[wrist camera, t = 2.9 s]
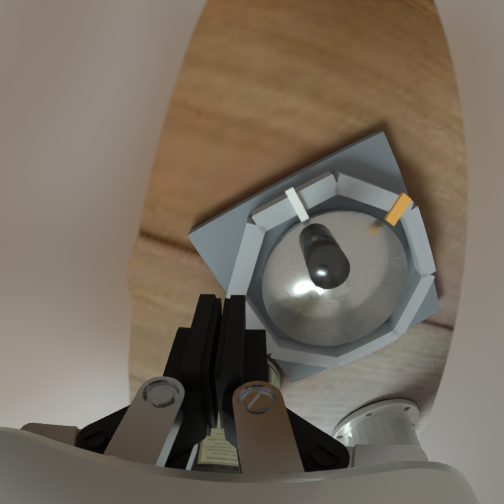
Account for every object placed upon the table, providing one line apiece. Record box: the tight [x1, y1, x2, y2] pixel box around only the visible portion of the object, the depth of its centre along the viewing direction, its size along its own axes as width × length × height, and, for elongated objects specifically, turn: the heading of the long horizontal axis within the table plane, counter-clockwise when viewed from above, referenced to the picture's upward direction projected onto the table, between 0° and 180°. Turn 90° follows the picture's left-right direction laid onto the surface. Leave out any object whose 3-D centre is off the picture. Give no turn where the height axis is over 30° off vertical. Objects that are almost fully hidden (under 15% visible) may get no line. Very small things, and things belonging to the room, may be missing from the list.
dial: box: [262, 208, 408, 346], centre depth 21 cm, size 12×12×6 cm
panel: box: [187, 131, 440, 382], centre depth 24 cm, size 18×17×3 cm
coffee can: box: [191, 358, 280, 474], centre depth 24 cm, size 10×10×14 cm
